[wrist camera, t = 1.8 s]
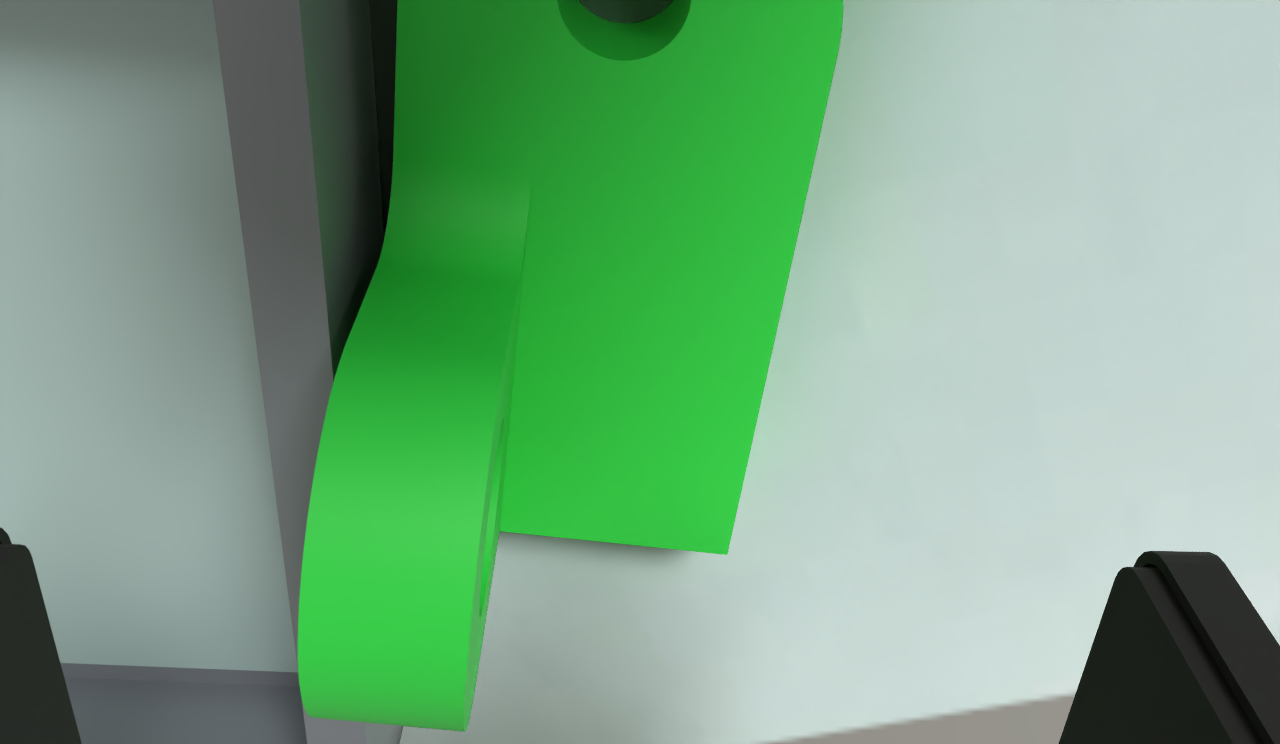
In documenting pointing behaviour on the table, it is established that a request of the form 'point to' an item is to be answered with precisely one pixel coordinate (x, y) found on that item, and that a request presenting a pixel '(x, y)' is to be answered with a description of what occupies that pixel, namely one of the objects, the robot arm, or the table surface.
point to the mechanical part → (552, 317)
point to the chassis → (179, 341)
